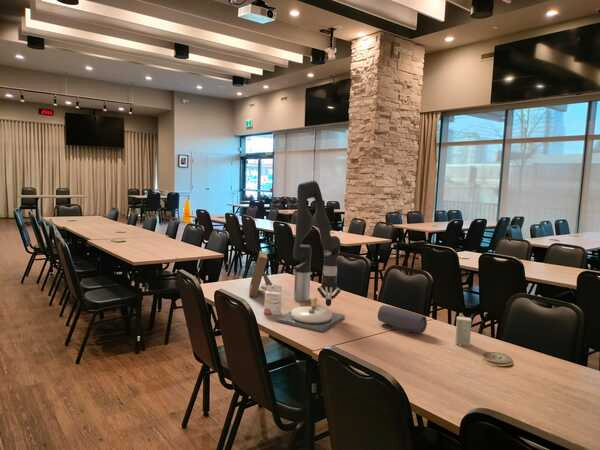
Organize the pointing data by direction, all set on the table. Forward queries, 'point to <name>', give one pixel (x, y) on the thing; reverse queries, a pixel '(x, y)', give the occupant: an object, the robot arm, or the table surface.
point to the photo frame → (259, 274)
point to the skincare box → (463, 331)
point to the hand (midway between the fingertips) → (328, 305)
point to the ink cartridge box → (273, 300)
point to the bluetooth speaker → (402, 319)
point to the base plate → (312, 326)
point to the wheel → (311, 313)
